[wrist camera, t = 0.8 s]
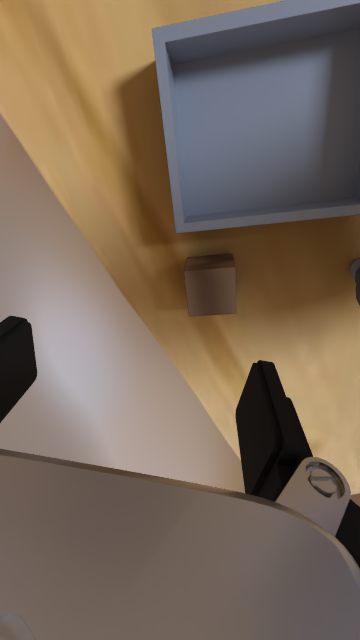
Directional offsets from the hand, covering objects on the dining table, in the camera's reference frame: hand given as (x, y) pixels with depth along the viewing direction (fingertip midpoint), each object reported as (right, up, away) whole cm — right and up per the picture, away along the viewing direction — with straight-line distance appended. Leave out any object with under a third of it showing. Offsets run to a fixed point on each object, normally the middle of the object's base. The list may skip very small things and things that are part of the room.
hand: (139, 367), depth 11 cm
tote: (+10, +19, +13) cm, 25 cm away
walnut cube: (+5, +7, +20) cm, 22 cm away
